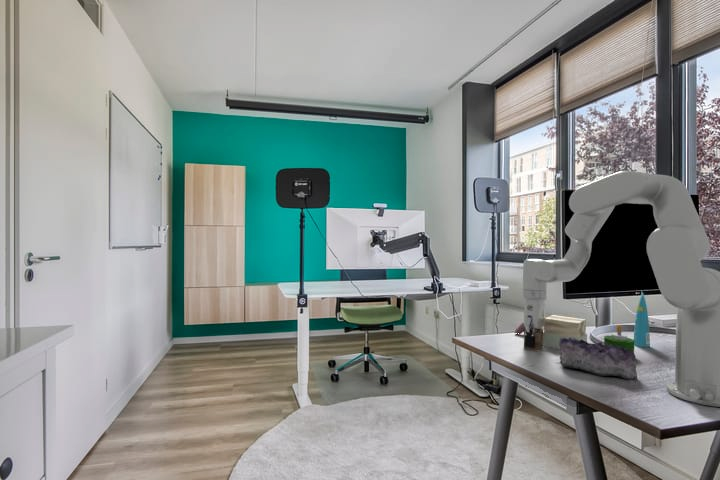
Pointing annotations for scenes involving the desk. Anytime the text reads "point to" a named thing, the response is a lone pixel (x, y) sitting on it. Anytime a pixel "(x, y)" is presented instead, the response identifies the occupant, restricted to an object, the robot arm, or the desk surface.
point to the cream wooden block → (565, 326)
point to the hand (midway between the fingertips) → (533, 344)
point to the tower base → (557, 339)
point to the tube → (642, 325)
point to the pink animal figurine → (521, 329)
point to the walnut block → (536, 340)
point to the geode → (598, 358)
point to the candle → (620, 340)
